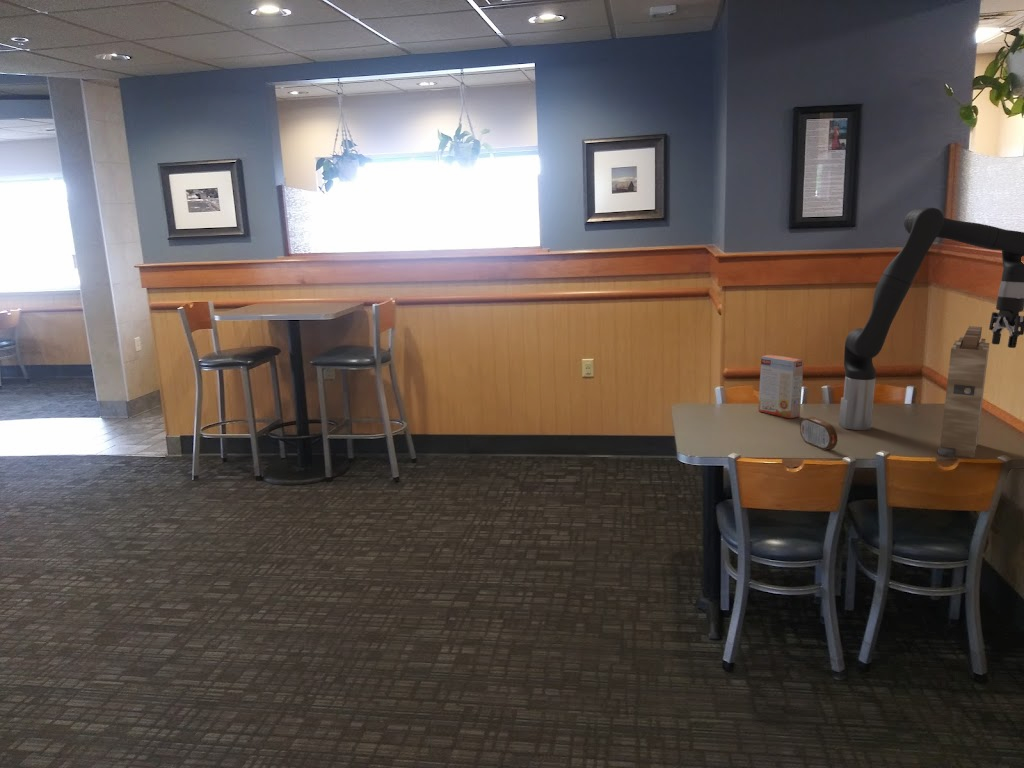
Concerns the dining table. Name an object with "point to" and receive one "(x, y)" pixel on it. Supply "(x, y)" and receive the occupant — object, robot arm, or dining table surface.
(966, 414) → the stand
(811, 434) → the tin
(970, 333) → the bar
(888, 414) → the dining table surface
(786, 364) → the cracker box
